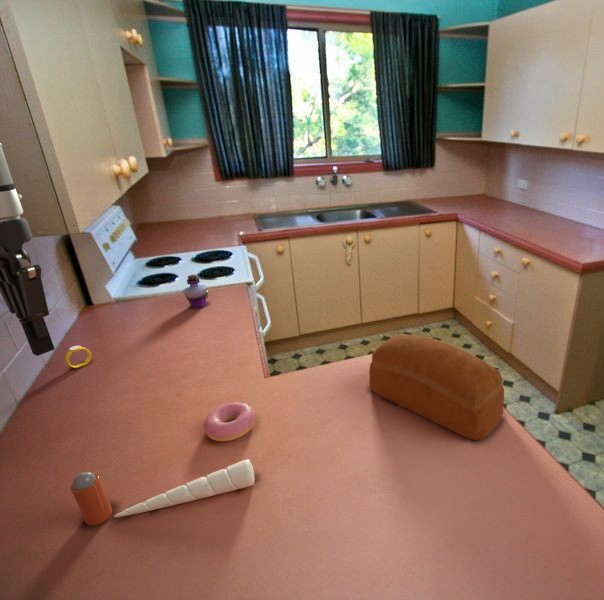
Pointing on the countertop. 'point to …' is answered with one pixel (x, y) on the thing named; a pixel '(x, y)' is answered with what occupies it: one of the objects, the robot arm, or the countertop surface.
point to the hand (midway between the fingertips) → (44, 351)
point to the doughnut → (231, 429)
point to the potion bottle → (195, 292)
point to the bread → (439, 383)
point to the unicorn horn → (200, 488)
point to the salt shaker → (91, 498)
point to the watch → (74, 349)
